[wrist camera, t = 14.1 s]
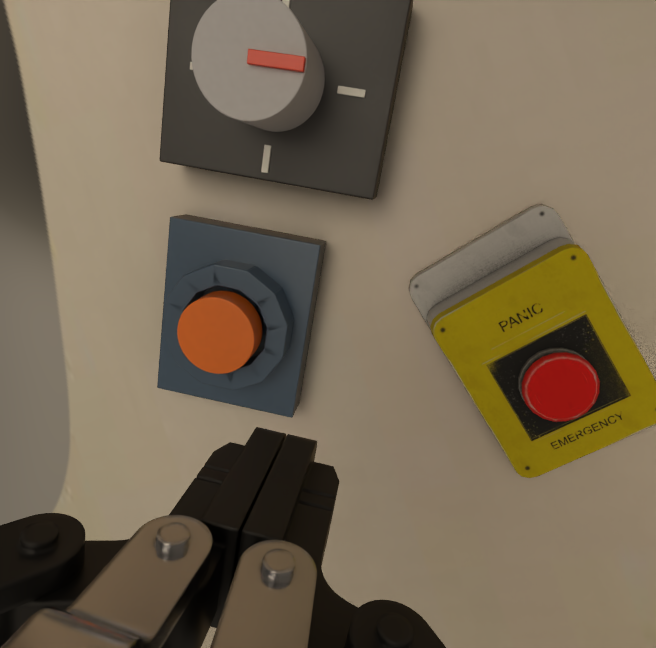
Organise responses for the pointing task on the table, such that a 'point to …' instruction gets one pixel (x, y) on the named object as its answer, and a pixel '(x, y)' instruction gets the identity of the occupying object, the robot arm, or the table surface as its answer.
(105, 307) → the table surface
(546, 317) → the emergency button
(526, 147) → the table surface
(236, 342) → the power button
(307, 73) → the knob
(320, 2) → the dial panel
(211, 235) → the switch block
